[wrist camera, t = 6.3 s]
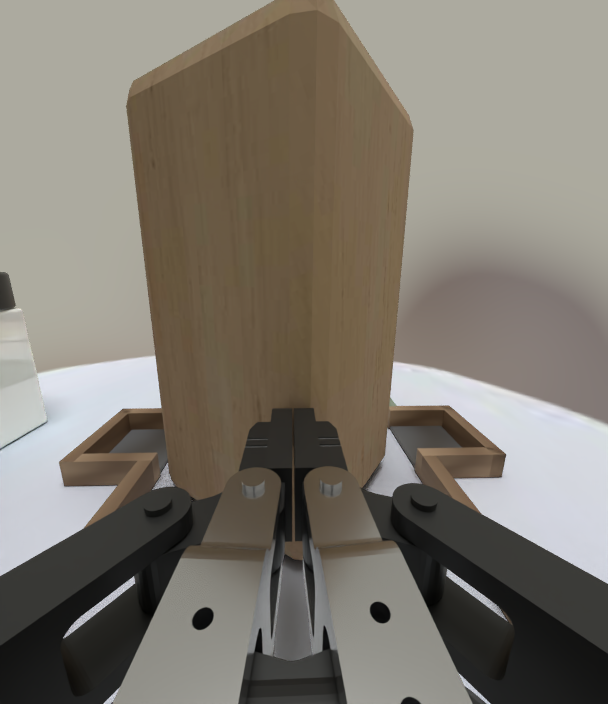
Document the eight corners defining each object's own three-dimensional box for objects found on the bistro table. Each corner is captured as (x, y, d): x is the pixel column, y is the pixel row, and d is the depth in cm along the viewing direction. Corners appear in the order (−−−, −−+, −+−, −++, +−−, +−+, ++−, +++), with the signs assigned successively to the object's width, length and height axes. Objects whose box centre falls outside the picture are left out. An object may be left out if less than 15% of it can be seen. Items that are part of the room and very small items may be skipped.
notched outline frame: (-196, 734, 8) (-221, 694, 8) (180, 374, 37) (179, 362, 37) (714, 685, 10) (733, 648, 9) (396, 373, 38) (397, 361, 38)
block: (272, 421, 26) (267, 152, 21) (388, 461, 21) (420, 115, 16) (163, 489, 18) (112, 76, 13) (309, 582, 13) (322, -55, 7)
